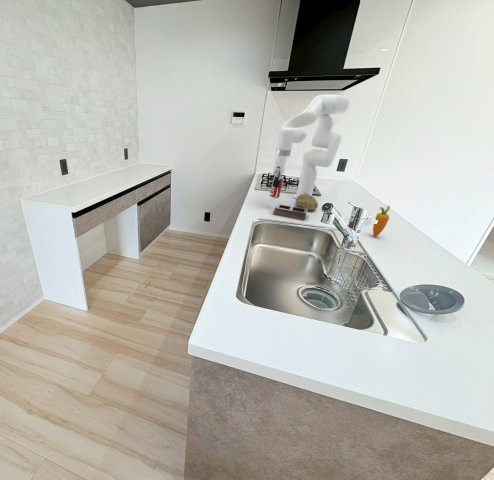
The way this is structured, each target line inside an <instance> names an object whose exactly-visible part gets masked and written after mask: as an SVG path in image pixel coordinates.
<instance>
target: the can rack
mask: <svg viewBox="0 0 494 480" xmlns="http://www.w3.org/2000/svg"><path fill="white" fill-rule="evenodd" d="M308 211H309V210H308V209H306V208H303V207H301V206H295V205H288V204H281V203H277V205H276V206H275V207H274V210H273V215H274V216H278V217H285V218H290V219H295V220H300V221H306V218H307V215H308Z"/></svg>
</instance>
